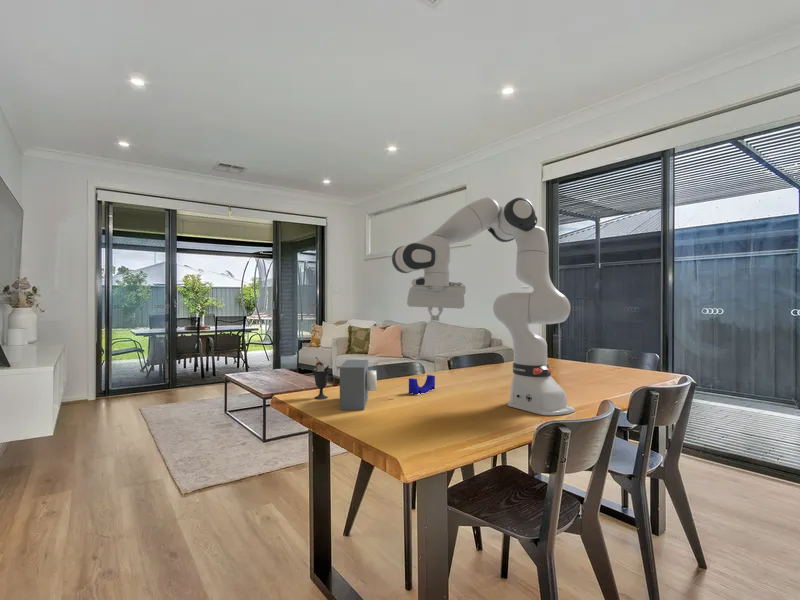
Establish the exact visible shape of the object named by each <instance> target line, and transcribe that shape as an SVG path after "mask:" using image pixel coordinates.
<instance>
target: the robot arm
mask: <svg viewBox="0 0 800 600" xmlns="http://www.w3.org/2000/svg"><path fill="white" fill-rule="evenodd" d="M537 224H538V217H537V215H536V210H535V206H533V204H532V203H531V201H530V200H529V199H527V198H525V197H516V198H514V199H511V200H510V201H508V202H507V203H506V204H505V206H504V207H502V206H500V205H499V204H498V202H497V201H496V200H495V199H494V198H492V197H489V196H485V197H481V198H479V199H477V200H475V201H472V202H471V203H469V204H467V205H465V206H463V207H462V208H460V209H459V210H457V211H456V212H455V213H454V214H452V216H450V217H449V218H448V219H447V220H446V221H445V222H444V223H443V224H442V225H440V226H439V228H437V229H435V230H434V231H433V232H432V233H430V234H428V235H426V236H425V237H424V238H422V239H420V240H417V241H415V242H411V243H408V244H406V245H402V246H399V247H397V248H396V249H394V251H393V253H392V257H391V261H392V265H393V267H394V269H395V270H396V271H397V272H399V273H401V274H410V273H411V272H417V271H420V270H423V272H424V273H423V276H419V277H417V278H414V279H411V287H410V288H409V290H408V295H407V299H406V300H407V301H406V305H407V306H408V307H411V308H412V307H413V308H414V307H415V308H427V311H428V314H429V315H430V321H434V322H435V321H437V322H439V321H440V316H441V315H442V313H443V311H444V310H443V309H463V308H464V307H465V294H466V291H467V289H466V285H465V284H464V283H463V282H454V281H453V282H452V281H450V269H449V268H450V267H449V264H450V262H451V261H450V260H451V249H450V247H451V246H450V245H453V244H457V243H462V242H464V241H467V240H469V239H471V238H474V237H476V236H477V235H479V234H481V233H482V232H484V231H486V230H487V231H488V233H491V235H492V237H493V238H494V239H496V240H497V241H499V242H501V243H508V242H511V241H513V240H514V241H515V242H516V261H515V262H516V263H515V264H516V265H515V267H516V268H515V276H516V278H517V279H518V280H519V281H520V282H521V283H523V284H525V285H528V286H530V287H531V288H532V289H533V291H532V292H508V293H507V292H506V293H502V294H499V295H497V297H496V299H495V300H494V302H493V306H492V309H493V314H494V316H495V317H496V319H497V321H499V322H500V323H502V324H503V325H504V326H505V328H507V330H508V332H509V334H510V335H511V338H512V344H513V353H514V354H513V357H514V358H513V363H512V373H513V377H512V380H511V383H510V384H511V385H510V394H509V400H508V402H507V406H508V407H511V408H515V409H518V410H521V411H525V412H526V411H527V412H529V413H533V414H537V415H540V416H560V415H566V414H567V415H568V414H572V413H574V412H575V410H576V409H575V407H573V406H570V405H568V403H567V401H568V399H567V394H566V392H565V390H564V389H563V388H562V387H561V386H560V385H559V384H558V383H557V382H556V380H555V379H554V378H553V377H552V376H551V375H552V373H553V372H554V371H553V370H554V368H553V367H551V368H550V366H549V364H548V344H547V341H546V339H544V337H542V336H540V335H539V334H538V333H535V332H533V331H532V330H531V329H530V326H529V325H535V324H536V325H539V324H540V325H555V324H560V323H564V322H565V321H566V320H567V319H568V318H569V316H570V313H571V302H570V301H569V299H568V298H567V296H566V295H564V294H563V293H561V291H560V290H558V289H557V288H556V287H555V286H554V283H553V282H552V279H551V276H550V267H549V265H550V264H549V256H550V255H549V252H550V251H549V250H550V249H549V241H548V240H549V239H548V235H547V231H546V229H544V228H543V227H541V226H539V225H537ZM433 308H435V309H436V308H438V309H437V310H438V313H437V315H434V314H433V312H432V311H433Z"/></svg>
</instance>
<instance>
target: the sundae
mask: <svg viewBox="0 0 800 600" xmlns="http://www.w3.org/2000/svg"><path fill="white" fill-rule="evenodd" d="M315 359H316V360H317V362H316V363H315V366H314V368H313V370H311V372H312V373H313V375H314V384H315V386H316V388H318V389H319V393H318V395H316V396H314V399H315V400H325V399H326V398H327V399H328V398H329V397H328V396H327V395H325V394H324V388H325V387H326V386H327V384H328V378H329V373H330V372H331V370H330V369H329V367H330V365H329V364H328V365H327V366H326V364H325V363H323V362H322V361H320V360H319V359H318V357H317V356H316V357H315ZM327 399H326V400H327Z"/></svg>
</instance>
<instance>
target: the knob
mask: <svg viewBox="0 0 800 600" xmlns="http://www.w3.org/2000/svg"><path fill="white" fill-rule="evenodd" d="M377 381H378V380H377V370H373V369H371V370H370V369H368V371H367V377H366V384H367V391H368V392H370V391H371V392H373V391H374V392H377V384H378V383H377Z"/></svg>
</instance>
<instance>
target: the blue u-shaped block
mask: <svg viewBox="0 0 800 600" xmlns="http://www.w3.org/2000/svg"><path fill="white" fill-rule="evenodd" d="M425 379H426V380H425V381H424V382H425V383H424V384H423V385H422V386H419V383H418V378H414V377H411V378H408V394H409V393H413V394H418V393H420V394H421V393H426V392H428V391H429V390H432V389H435V390H436V375H431V374H427V375H426V378H425ZM429 392H430V391H429ZM429 392H428V393H429ZM413 394H412V395H413ZM426 394H427V393H426ZM421 395H422V394H421Z"/></svg>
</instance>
